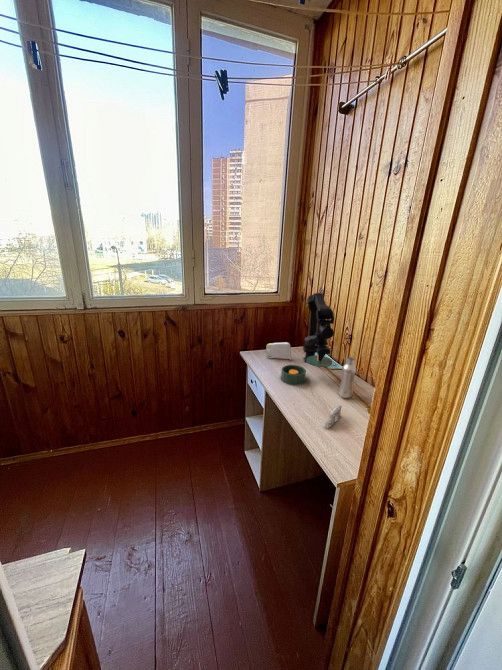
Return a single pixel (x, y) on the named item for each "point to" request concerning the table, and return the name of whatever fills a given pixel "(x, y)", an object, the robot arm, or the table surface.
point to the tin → (293, 378)
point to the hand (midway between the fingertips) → (319, 359)
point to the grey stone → (333, 416)
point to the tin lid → (315, 361)
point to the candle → (293, 372)
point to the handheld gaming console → (278, 350)
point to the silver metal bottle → (347, 378)
